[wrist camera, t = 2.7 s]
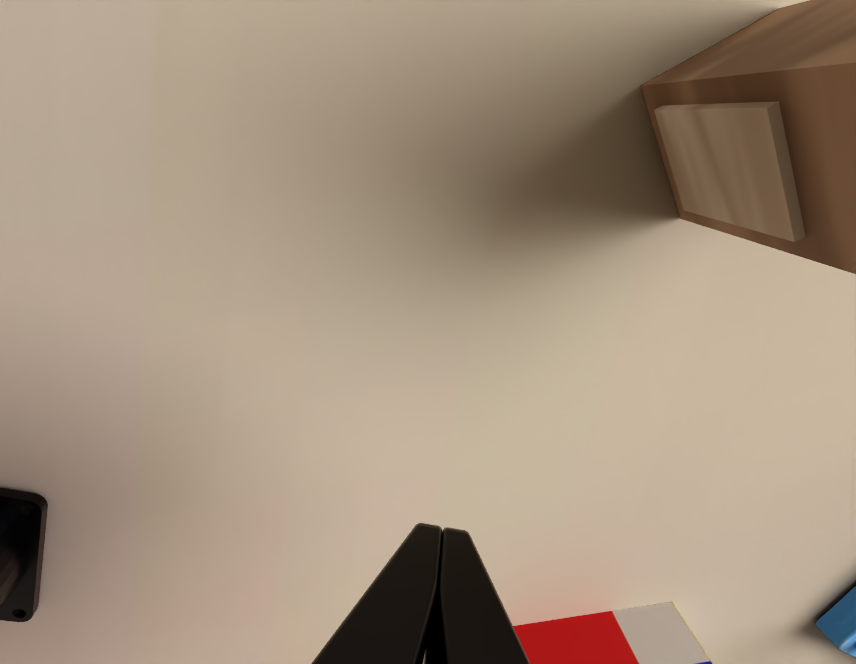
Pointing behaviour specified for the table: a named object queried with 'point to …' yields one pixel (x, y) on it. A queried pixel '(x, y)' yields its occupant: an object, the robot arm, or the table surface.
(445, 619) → the robot arm
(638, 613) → the puzzle toy
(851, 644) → the file sorter
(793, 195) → the walnut block
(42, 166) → the table surface
